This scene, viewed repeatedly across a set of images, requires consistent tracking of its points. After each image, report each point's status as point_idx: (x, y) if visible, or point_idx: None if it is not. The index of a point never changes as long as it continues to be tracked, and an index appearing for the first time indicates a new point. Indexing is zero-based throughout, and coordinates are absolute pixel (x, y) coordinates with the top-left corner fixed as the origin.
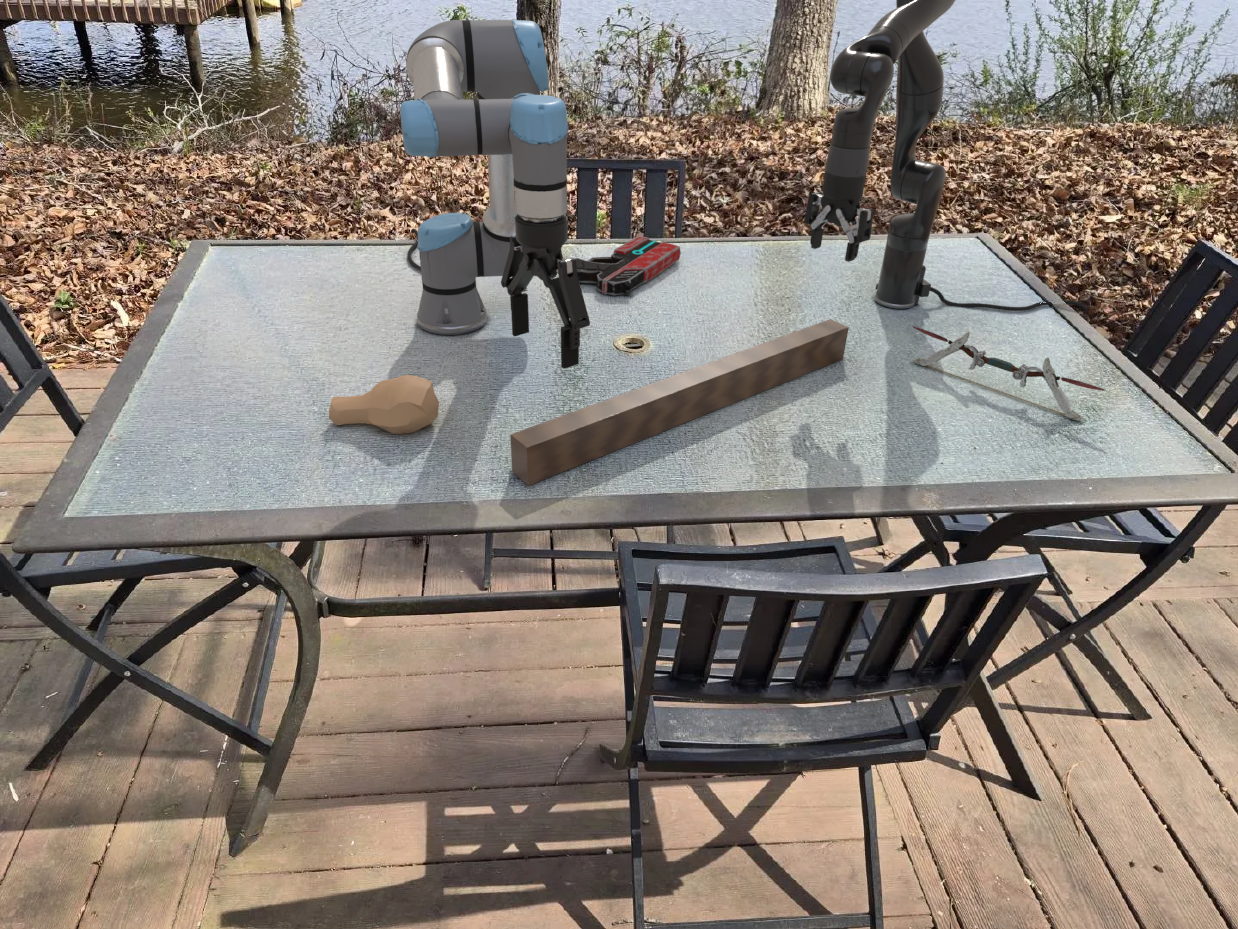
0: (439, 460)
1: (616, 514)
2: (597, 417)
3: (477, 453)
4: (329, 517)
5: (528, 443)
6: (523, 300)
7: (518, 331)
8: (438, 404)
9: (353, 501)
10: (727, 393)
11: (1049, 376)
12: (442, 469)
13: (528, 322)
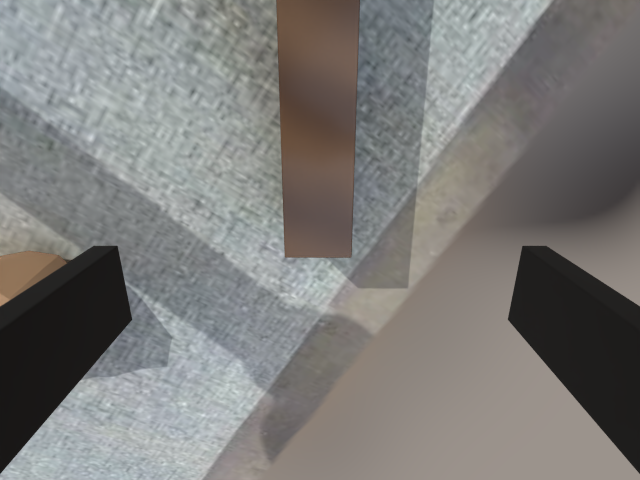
0: (190, 301)
1: (513, 149)
2: (342, 34)
3: (202, 242)
4: (246, 457)
5: (339, 246)
6: None
7: (118, 312)
8: (47, 268)
9: (228, 427)
10: None
11: None
12: (217, 309)
13: (87, 271)
